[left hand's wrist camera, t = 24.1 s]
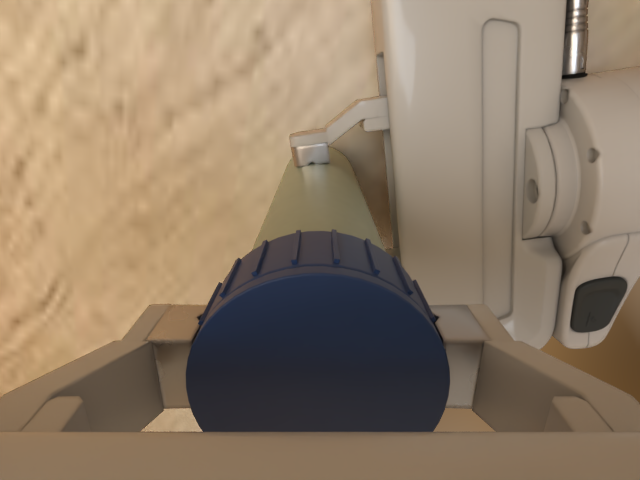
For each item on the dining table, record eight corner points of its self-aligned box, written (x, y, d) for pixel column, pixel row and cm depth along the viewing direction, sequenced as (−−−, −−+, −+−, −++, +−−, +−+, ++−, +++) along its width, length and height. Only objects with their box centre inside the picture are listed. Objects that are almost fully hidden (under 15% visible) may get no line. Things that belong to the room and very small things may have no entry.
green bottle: (330, 130, 25) (353, 231, 8) (367, 191, 26) (459, 392, 9) (270, 170, 26) (168, 341, 8) (309, 227, 27) (290, 472, 10)
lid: (464, 349, 10) (501, 418, 8) (295, 439, 12) (290, 520, 9) (348, 180, 9) (357, 211, 7) (165, 305, 10) (123, 366, 8)
